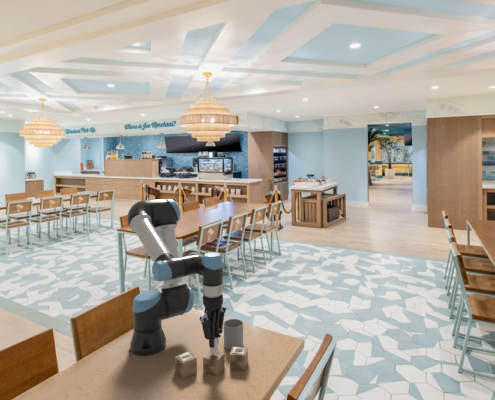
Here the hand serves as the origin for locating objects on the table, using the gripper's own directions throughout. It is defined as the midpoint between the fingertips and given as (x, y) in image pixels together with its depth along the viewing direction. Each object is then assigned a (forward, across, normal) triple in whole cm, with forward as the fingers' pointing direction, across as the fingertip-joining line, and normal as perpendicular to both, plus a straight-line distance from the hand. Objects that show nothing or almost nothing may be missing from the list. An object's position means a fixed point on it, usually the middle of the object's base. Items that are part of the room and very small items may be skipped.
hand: (213, 353), depth 132 cm
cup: (+7, +19, +5) cm, 21 cm away
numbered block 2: (+7, +8, -6) cm, 12 cm away
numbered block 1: (+7, -7, +8) cm, 13 cm away
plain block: (+7, 0, 0) cm, 7 cm away
